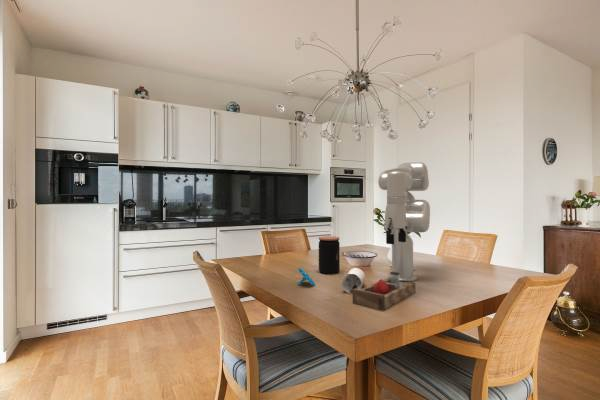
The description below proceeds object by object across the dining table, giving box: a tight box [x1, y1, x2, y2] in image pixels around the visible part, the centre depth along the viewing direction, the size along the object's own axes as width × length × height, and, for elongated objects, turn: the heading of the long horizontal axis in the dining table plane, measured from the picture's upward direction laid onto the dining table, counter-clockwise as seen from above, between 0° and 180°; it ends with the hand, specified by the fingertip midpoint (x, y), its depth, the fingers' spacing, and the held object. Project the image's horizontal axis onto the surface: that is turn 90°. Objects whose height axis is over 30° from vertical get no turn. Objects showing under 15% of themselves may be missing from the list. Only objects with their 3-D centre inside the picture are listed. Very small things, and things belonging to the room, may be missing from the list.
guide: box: [352, 277, 416, 312], centre depth 125 cm, size 28×12×5 cm, turn 139°
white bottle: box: [340, 267, 366, 294], centre depth 139 cm, size 8×19×8 cm, turn 161°
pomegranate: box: [373, 278, 389, 295], centre depth 122 cm, size 6×6×8 cm
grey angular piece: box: [385, 271, 406, 292], centre depth 130 cm, size 13×7×8 cm, turn 139°
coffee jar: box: [318, 235, 341, 275], centre depth 168 cm, size 11×11×18 cm
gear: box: [297, 267, 316, 286], centre depth 144 cm, size 11×6×10 cm
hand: (396, 242), depth 135 cm, fingers open, 9 cm apart
